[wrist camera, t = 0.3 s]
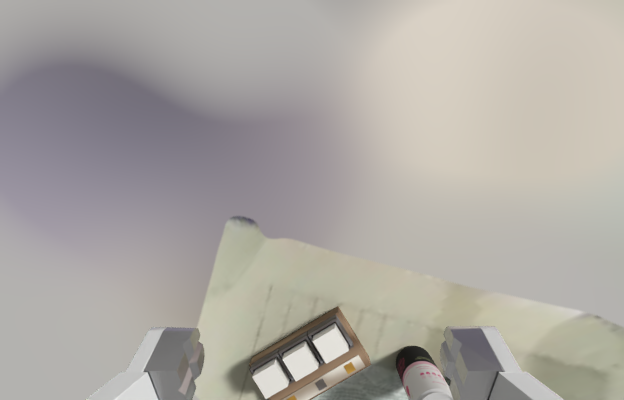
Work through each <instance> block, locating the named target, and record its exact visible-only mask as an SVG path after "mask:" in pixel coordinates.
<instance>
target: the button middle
mask: <svg viewBox="0 0 624 400" xmlns="http://www.w3.org/2000/svg"><path fill="white" fill-rule="evenodd" d="M282 360H283V361H284V363H285V365H286V366H287V368H288V370H289V371H290V373H291V374H292V376H293V378H294V379H295V381H298V380H300V379H301V378H303V377H305V376H307V375H308V374H310V373H312V372H313V371H315V370H317V369H318V364H319V361H318V360H317V358H316V356H315V355H314V353H313V351H312V350H311V348H310V346H309V345H308V343H307V342H306V340H304V341H303V342H301V343H299V344H298V345H296V346H294V347H293V348H291V349H289V350H288V351H286V352H284V355H283V359H282Z"/></svg>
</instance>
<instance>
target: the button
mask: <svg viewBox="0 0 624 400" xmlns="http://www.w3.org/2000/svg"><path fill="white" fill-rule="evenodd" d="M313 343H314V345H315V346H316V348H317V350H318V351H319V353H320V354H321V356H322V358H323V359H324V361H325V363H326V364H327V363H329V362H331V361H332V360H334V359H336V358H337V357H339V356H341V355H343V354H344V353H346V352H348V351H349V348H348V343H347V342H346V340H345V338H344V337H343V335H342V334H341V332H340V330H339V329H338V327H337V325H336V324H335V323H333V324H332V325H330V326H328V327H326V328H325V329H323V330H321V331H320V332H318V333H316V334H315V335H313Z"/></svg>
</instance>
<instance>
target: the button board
mask: <svg viewBox="0 0 624 400" xmlns="http://www.w3.org/2000/svg"><path fill="white" fill-rule="evenodd" d="M333 323H335V324H336V325H337V327H338V329H339V330H340V332H341V334H342V335H343V337H344V338H345V340H346V342H347V343H348V348H349V351H348V352H346V353H344V354H343V355H341V356H339V357H337V358H336V359H334V360H332V361H331V362H329V363H327V364H326V363H325V361H324V359H323V358H322V356H321V354H320V353H319V351H318V350H317V348H316V346H315V345H314V343H313V335H315V334H316V333H318V332H320V331H321V330H323V329H325V328H326V327H328V326H330V325H332V324H333ZM304 340H306V342H307V343H308V345H309V346H310V348H311V350H312V351H313V353H314V355H315V356H316V358H317V360H318V361H319V364H318V369H317V370H315V371H313V372H312V373H310V374H308V375H307V376H305V377H303V378H301V379H300V380H298V381H295V379H294V378H293V376H292V374H291V373H290V371H289V370H288V368H287V366H286V365H285V363H284V361H283V360H282V359H283V355H284V352H286V351H288V350H289V349H291V348H293V347H294V346H296V345H298V344H299V343H301V342H303V341H304ZM276 357H277V359H278V360H279V362H280V364H281V365H282V367H283V368H284V370H285V372H286V373H287V375H288V377H289V378H290V379H289V384H288V387H286V388H284V389H283V390H281V391H279V392H278V393H276V394H274V395H272V396H271V397H269V399H270V400H311V399H313V398H314V397H316V396H318V395H320V394H321V393H323V392H325V391H327V390H328V389H330V388H332V387H333V386H335V385H337V384H339V383H340V382H342V381H344V380H346V379H347V378H349V377H351V376H352V375H354V374H356V373H358V372H359V371H361V370H363V369H364V368H366V367H368V366H370V365H371V363H370V359H369V356H368V354H367V353H366V351H365V349H364V348H363V346H362V345H361V343H360V341H359V340H358V338H357V336H356V335H355V333H354V332H353V330H352V328H351V327H350V325H349V323H348V322H347V320H346V318H345V317H344V315H343V314H342V312H341V310H340V309H339V307H336V308H334V309H333V310H331V311H329V312H328V313H326V314H324V315H323V316H321V317H319V318H318V319H316V320H314V321H313V322H311V323H309V324H308V325H306V326H304V327H303V328H301V329H299V330H297V331H296V332H294V333H292V334H291V335H289V336H287V337H286V338H284V339H282V340H281V341H279V342H277V343H276V344H274V345H272V346H271V347H269V348H267V349H265V350H264V351H262V352H260V353H259V354H257V355H255V356H254V357H252V360H251V362H250V364H249V366H250V369H249V370H250V371H251V373H252V375H253V374H254V372H255V369H257V368H259V367H261V366H262V365H264V364H266V363H267V362H269V361H271V360H272V359H274V358H276Z"/></svg>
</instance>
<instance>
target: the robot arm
mask: <svg viewBox="0 0 624 400" xmlns="http://www.w3.org/2000/svg"><path fill="white" fill-rule="evenodd" d="M444 337H445V340H446V341H445V342H443V343H442V344H441V349H440V359H441V364H442V368H443V371H444V374H445V375H446V376H447V377H448V378H449V379H450V380H451V383H450V387H449V389H450V392H451V394H452V397H453V400H564V399H562V398H561V397H560V396H558V395H557V394H556V393H554V392H553V391H552V390H550V389H549V388H548V387H546V386H545V385H544V384H542V383H541V382H540V381H538V380H537V379H536V378H535V377H533V376H532V375H531V374H529V373H528V372H522V371H521V369H520V367H519V365H518V364H517V362H516V360H515V358H514V357H513V355H512V353H511V351H510V350H509V348H508V346H507V345H506V343H505V341H504V339H503V338H502V336H501V334H500V332H499V331H498V329H497V328H496V327H495V326H478V327H477V326H455V327H446V328H445V331H444ZM199 338H200V333H199V329H198V328H169V327H167V328H164V327H155V328H154V327H152V328H151V329H150V330H149V331H148V332H147V333H146V335H145V337H144V339H143V341H142V343H141V344H140V346H139V348H138V350H137V352H136V354H135V356H134V357H133V359H132V361H131V363H130V365H129V367H128V368H127V371H126V372H121V373H119V374H118V375H117V376H115V377H114V378H113V379H112V380H110V381H109V382H108V383H106V384H105V385H104V386H102V387H101V388H100V389H99V390H97V391H96V392H95V393H93V394H92V395H91V396H90V397H88V398H87V399H86V400H192V398H193V395H194V392H195V389H196V386H195V382H194V380H195V379H196V378H197V377H198V376H199V375H200V374H201V371H202V368H203V363H204V348H203V344H201V343H200V342H199Z"/></svg>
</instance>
